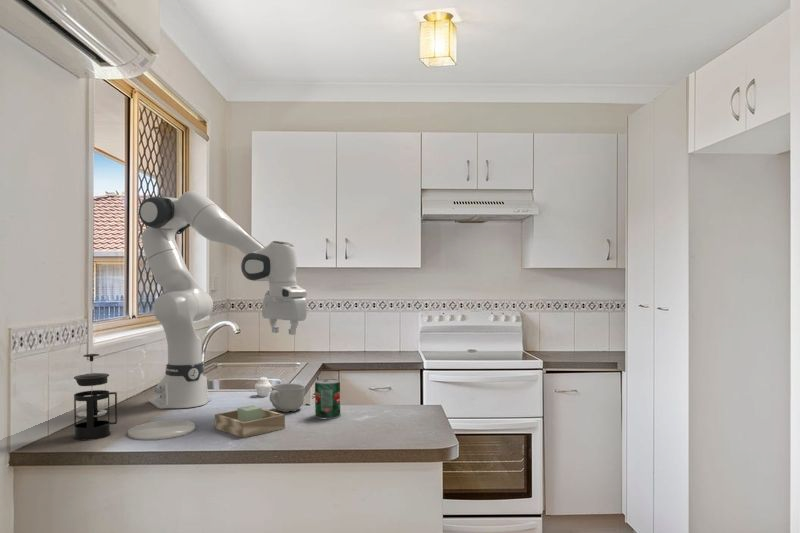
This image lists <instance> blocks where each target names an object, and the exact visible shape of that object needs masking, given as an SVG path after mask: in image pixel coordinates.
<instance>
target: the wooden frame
mask: <svg viewBox="0 0 800 533" xmlns="http://www.w3.org/2000/svg"><path fill="white" fill-rule="evenodd" d="M284 428H285V429H286V415H285V414H284V413H281V412H276V411H272V410H268V409H264V408H262V419H258V420H254V421H249V422H242V421H239V420H238V410H237V409H236V410H232V411H226V412H221V413H216V414H214V429H216V430H219V431H223V432H225V433H228V434H231V435H234V436H237V437H241V438H245V437H246V438H249V436H250V437H253V435H254V436H259V435H262V434H261V433H263V434H267V433H266V432H268V433H271V432H270V431H272V432H275V430H276V431H279V430H280V429H281V430H285V429H284ZM258 434H259V435H258Z"/></svg>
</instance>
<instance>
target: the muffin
mask: <svg viewBox="0 0 800 533" xmlns="http://www.w3.org/2000/svg"><path fill="white" fill-rule="evenodd" d="M272 386H273V385H272V383H270V381H269V378H267V377H266V376H262V377H259V378H258V379H257V382H256V383H255V384H254V389H255V392H256V393H257V396H258V397H261V398H264V397H268V396H269V395H270V393H271V391H272Z"/></svg>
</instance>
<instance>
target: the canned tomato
mask: <svg viewBox="0 0 800 533" xmlns="http://www.w3.org/2000/svg"><path fill="white" fill-rule="evenodd" d="M314 402H315V404H314V407H315V410H314V411H315V412H314V415H315V416H316V417H318V418H317V419H320V418H326V419H325V420H332V419H331V418H333V419H337V417H338V418H340V417H341V380H340V379H336V378H321V379H317V380H315V381H314Z"/></svg>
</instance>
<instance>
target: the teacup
mask: <svg viewBox="0 0 800 533" xmlns="http://www.w3.org/2000/svg"><path fill="white" fill-rule="evenodd" d="M305 389H306V387H305V385H303V384H299V383H277V384H273V385H272V387H271V391H270V392H269V401H270V403H271V404H272V406H273V407H274V408H275V409H276V410H277V411H278V412H281V411H282V412H283V413H290V412H289V411H293V412H296V411H295V410H297V411H298V410H299V409H300V408H301V407H303V404H304V401H305Z"/></svg>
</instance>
